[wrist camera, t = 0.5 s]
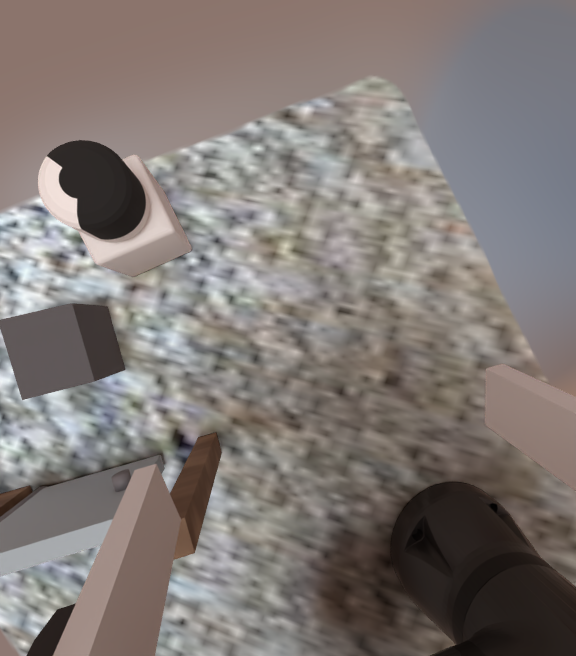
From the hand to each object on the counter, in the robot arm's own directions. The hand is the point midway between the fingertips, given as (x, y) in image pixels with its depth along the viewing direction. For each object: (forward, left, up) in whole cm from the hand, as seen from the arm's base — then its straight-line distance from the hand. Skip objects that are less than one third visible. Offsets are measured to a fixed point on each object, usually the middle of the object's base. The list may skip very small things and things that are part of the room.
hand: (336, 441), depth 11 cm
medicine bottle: (+17, +11, -22) cm, 30 cm away
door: (-6, +22, -21) cm, 31 cm away
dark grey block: (+7, +20, -22) cm, 30 cm away
